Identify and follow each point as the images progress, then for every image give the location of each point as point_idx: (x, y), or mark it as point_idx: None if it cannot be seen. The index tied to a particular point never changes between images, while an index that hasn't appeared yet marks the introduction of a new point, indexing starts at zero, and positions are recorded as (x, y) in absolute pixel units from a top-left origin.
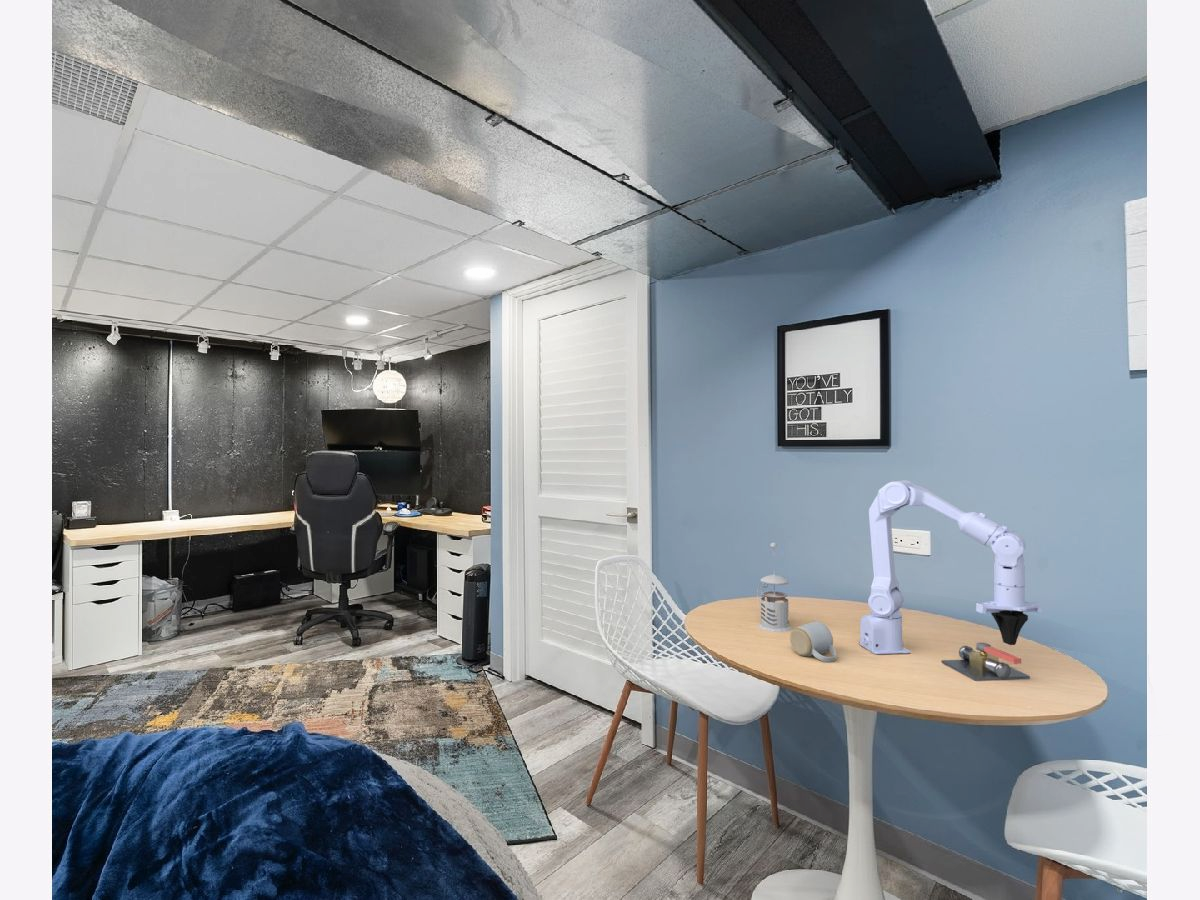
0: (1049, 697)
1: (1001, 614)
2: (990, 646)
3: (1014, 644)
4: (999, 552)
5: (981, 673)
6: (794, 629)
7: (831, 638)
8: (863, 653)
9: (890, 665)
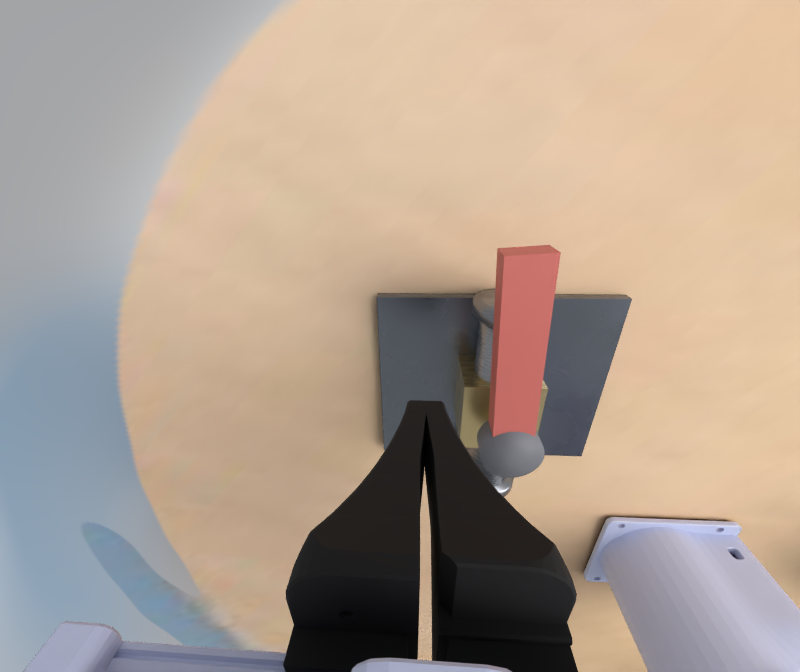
0: (466, 76)
1: (568, 637)
2: (498, 435)
3: (415, 402)
4: None
5: (554, 339)
6: None
7: None
8: (759, 532)
9: (788, 449)
